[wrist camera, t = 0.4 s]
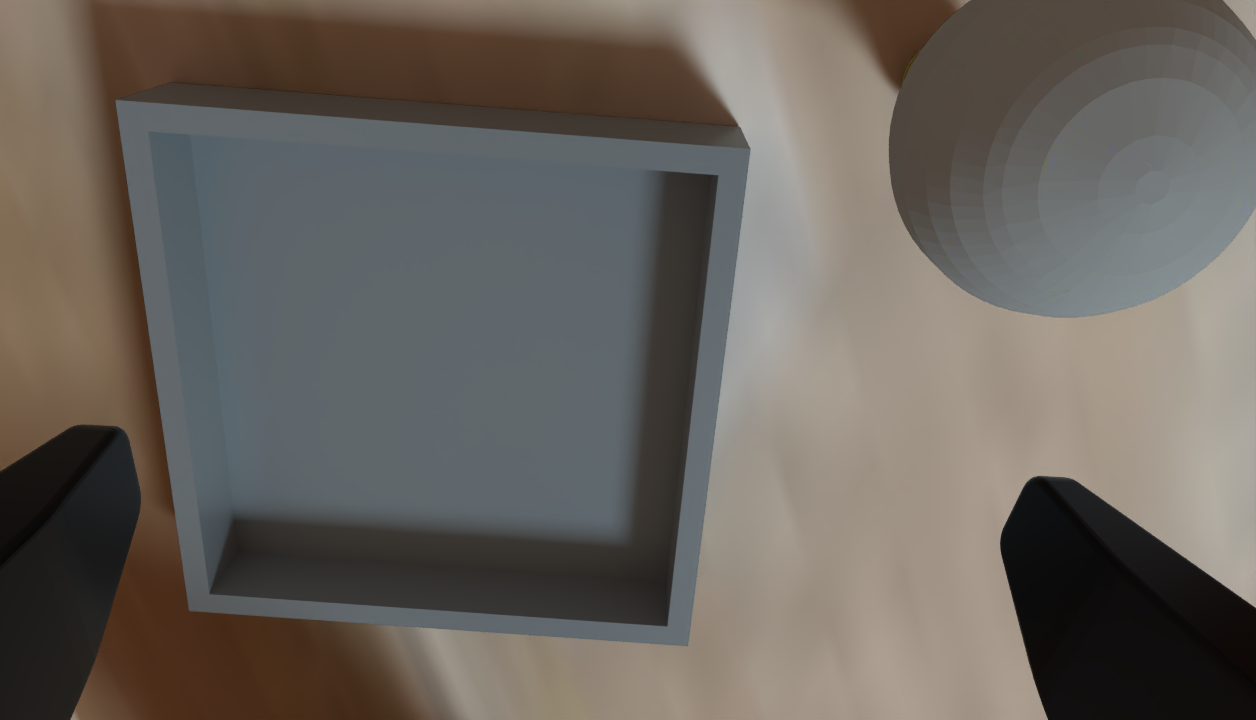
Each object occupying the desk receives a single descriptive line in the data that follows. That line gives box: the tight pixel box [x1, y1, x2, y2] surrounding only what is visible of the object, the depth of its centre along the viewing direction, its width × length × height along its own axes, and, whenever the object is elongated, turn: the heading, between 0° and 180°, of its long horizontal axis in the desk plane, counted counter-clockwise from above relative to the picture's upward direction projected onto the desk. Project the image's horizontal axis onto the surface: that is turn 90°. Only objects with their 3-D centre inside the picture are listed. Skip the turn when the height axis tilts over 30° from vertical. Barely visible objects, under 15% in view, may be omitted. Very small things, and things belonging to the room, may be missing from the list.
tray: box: [115, 82, 750, 646], centre depth 24 cm, size 13×13×2 cm
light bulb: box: [889, 0, 1256, 318], centre depth 17 cm, size 5×6×10 cm
